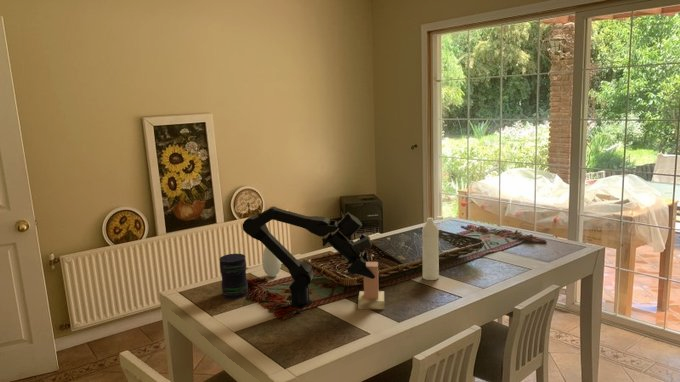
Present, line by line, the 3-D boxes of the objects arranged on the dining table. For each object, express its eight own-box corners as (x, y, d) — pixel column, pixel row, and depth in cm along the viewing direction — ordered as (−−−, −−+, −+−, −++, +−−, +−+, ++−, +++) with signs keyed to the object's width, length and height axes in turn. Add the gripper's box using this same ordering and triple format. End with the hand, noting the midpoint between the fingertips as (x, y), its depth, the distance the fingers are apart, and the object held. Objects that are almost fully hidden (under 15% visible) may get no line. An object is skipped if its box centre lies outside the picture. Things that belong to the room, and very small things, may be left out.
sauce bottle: (260, 279, 210) (257, 237, 207) (267, 272, 218) (264, 232, 214) (278, 280, 208) (275, 238, 205) (284, 273, 216) (281, 233, 213)
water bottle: (427, 281, 200) (426, 220, 195) (419, 276, 206) (419, 217, 201) (446, 278, 203) (446, 218, 198) (438, 273, 209) (438, 214, 204)
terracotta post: (364, 298, 178) (363, 266, 176) (364, 293, 183) (364, 261, 181) (378, 298, 178) (377, 266, 175) (378, 293, 182) (378, 261, 180)
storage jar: (252, 290, 198) (249, 254, 196) (241, 300, 189) (238, 262, 186) (229, 288, 201) (226, 253, 198) (217, 298, 192) (214, 261, 189)
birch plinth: (358, 309, 177) (358, 301, 176) (359, 298, 186) (359, 291, 185) (383, 309, 176) (383, 301, 175) (384, 298, 185) (384, 291, 184)
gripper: (356, 236, 167) (390, 268, 168) (359, 222, 185) (390, 251, 186) (333, 259, 169) (367, 290, 170) (339, 243, 188) (369, 271, 188)
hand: (374, 274), depth 179 cm, fingers open, 6 cm apart
